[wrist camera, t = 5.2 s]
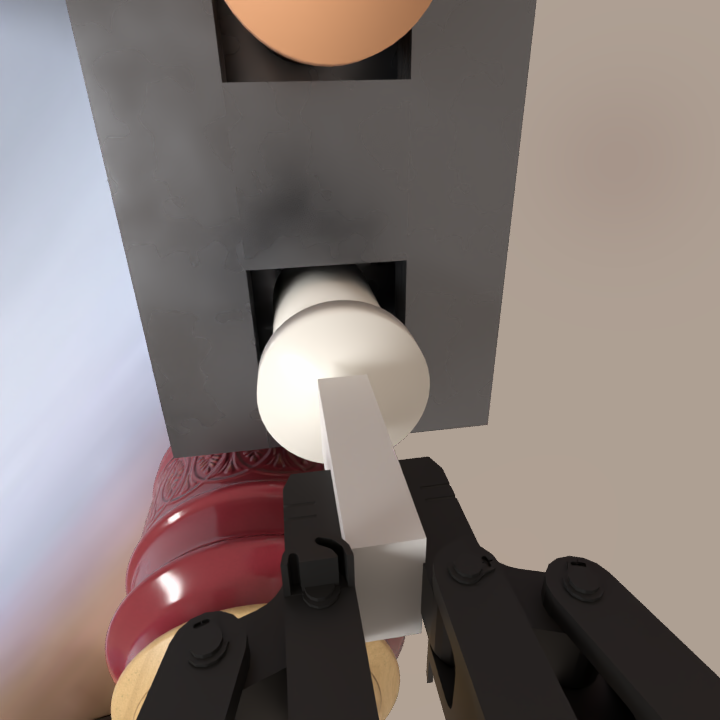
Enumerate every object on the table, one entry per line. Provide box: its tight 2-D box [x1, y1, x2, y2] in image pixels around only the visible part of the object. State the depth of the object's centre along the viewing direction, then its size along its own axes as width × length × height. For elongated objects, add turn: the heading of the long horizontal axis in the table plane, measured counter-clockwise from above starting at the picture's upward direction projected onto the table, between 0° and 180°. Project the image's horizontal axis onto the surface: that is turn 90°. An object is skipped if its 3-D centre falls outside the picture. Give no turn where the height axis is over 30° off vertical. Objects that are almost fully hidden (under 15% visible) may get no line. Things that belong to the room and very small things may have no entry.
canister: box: [105, 446, 405, 720], centre depth 25 cm, size 13×13×18 cm
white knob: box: [257, 264, 430, 464], centre depth 20 cm, size 6×6×9 cm
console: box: [66, 0, 536, 458], centre depth 21 cm, size 22×14×8 cm, turn 1°
